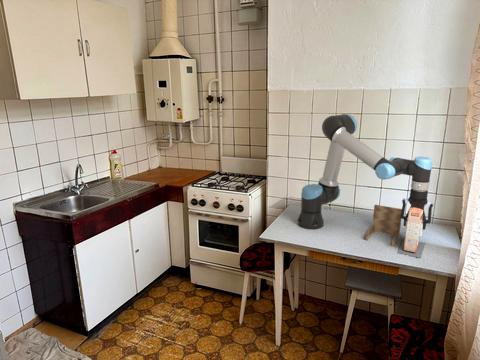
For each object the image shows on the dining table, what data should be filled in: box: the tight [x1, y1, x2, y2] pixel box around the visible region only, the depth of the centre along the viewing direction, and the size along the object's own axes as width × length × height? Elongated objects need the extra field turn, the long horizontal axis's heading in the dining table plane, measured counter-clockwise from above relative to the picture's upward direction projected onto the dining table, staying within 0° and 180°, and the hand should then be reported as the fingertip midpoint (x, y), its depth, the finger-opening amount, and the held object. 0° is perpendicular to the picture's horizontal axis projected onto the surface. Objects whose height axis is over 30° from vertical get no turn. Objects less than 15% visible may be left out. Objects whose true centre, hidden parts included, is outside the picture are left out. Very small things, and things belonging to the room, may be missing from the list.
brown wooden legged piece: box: [365, 204, 402, 247], centre depth 185 cm, size 14×16×15 cm
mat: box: [397, 238, 426, 259], centre depth 174 cm, size 10×18×1 cm, turn 147°
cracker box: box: [404, 207, 423, 253], centre depth 171 cm, size 14×6×21 cm, turn 148°
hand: (413, 233), depth 172 cm, fingers closed on cracker box, 6 cm apart
